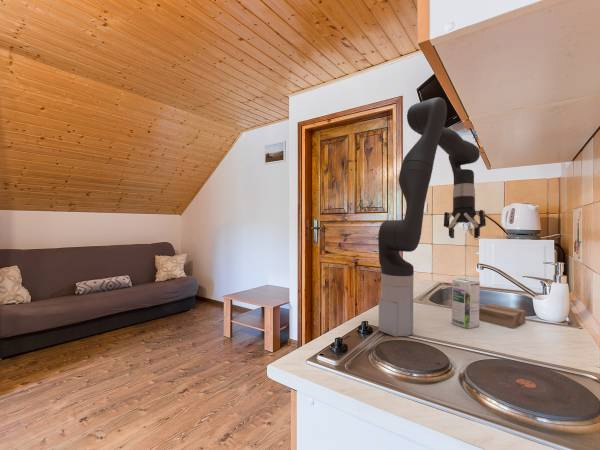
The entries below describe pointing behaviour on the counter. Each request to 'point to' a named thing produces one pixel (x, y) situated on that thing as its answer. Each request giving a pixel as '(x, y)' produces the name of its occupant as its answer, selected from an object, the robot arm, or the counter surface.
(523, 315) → the walnut base
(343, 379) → the counter surface
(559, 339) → the counter surface
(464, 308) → the syrup box
